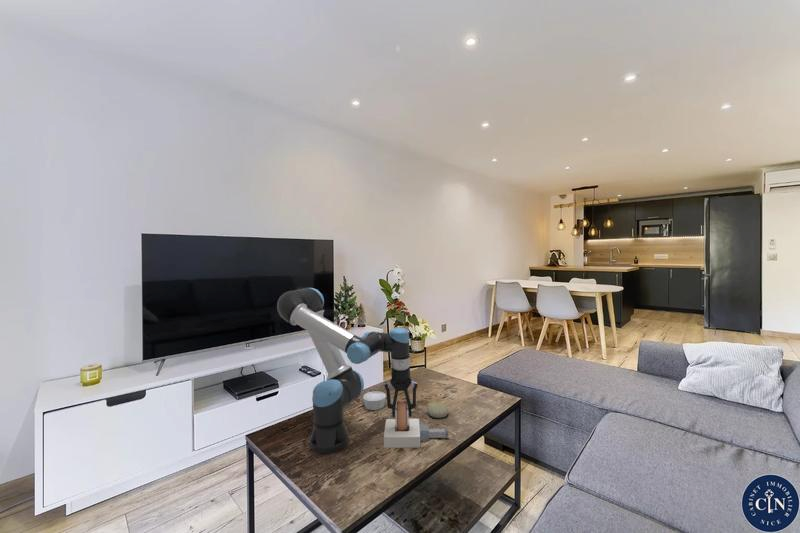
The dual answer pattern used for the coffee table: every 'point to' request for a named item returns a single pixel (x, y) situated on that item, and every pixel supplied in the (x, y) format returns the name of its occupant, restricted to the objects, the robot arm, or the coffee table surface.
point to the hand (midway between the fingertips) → (402, 424)
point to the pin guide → (424, 432)
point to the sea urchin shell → (437, 410)
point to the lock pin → (438, 433)
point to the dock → (402, 435)
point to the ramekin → (374, 400)
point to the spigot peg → (401, 415)
